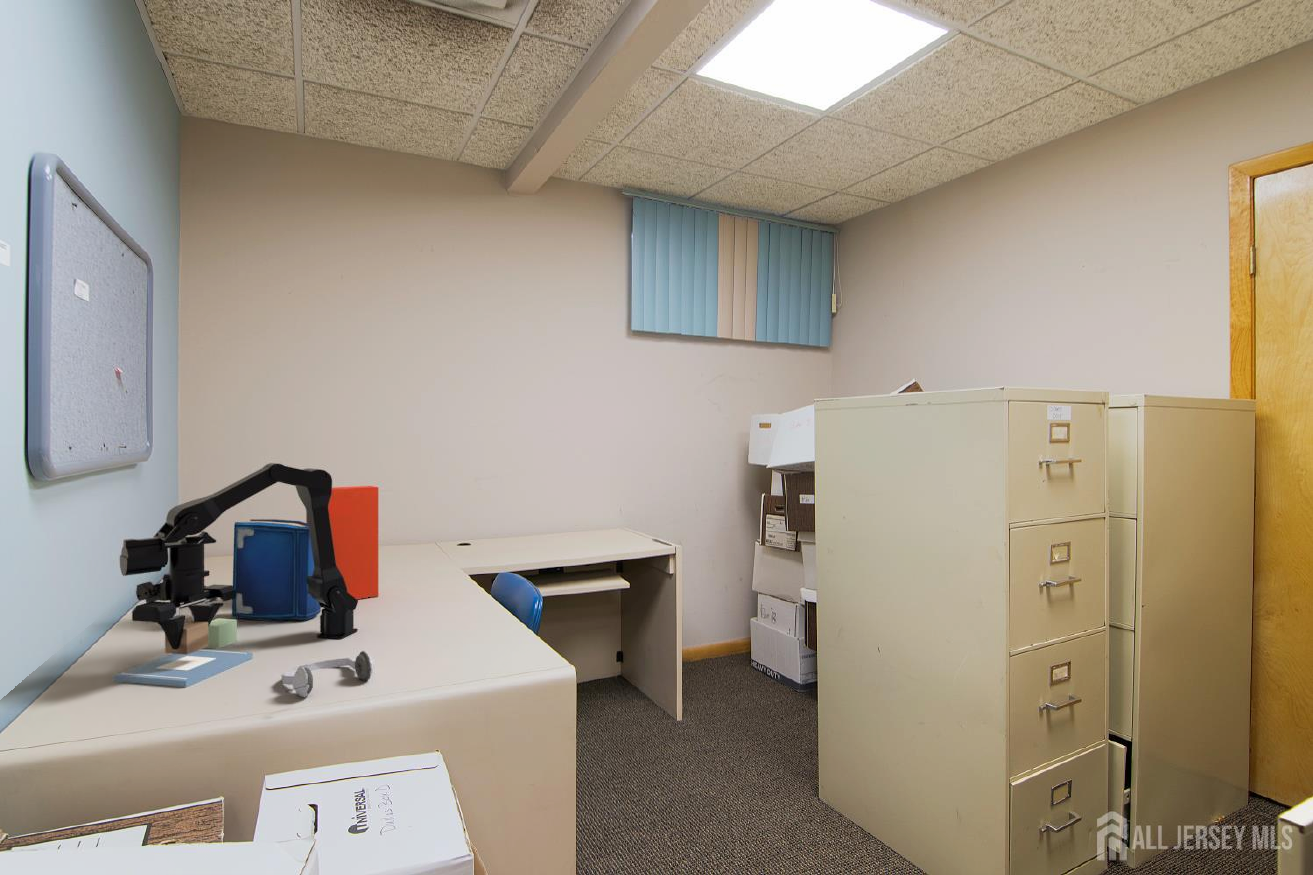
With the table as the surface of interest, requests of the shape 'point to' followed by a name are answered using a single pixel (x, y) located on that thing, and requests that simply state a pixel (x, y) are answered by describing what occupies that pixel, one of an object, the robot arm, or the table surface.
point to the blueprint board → (183, 668)
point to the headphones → (303, 676)
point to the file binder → (356, 537)
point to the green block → (222, 632)
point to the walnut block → (190, 638)
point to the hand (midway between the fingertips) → (187, 644)
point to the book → (272, 570)
